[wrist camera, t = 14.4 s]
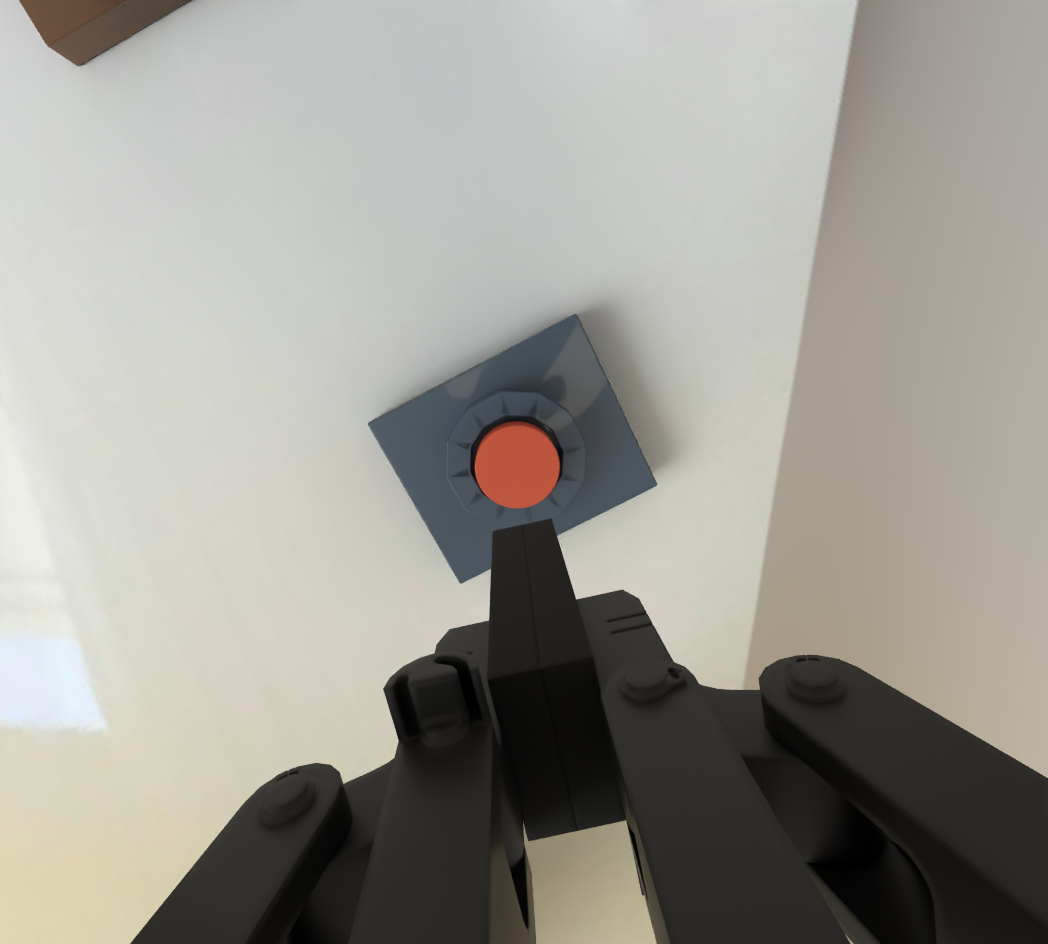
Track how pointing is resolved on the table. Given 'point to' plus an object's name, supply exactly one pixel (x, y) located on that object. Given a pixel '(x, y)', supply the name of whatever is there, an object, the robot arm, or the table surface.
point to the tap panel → (92, 23)
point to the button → (517, 464)
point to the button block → (502, 396)
